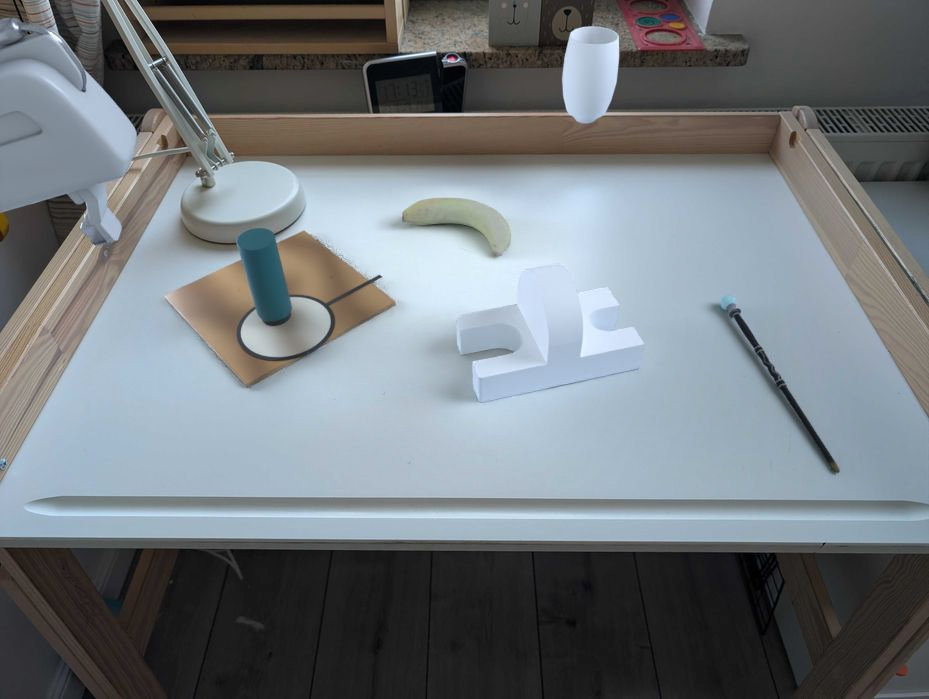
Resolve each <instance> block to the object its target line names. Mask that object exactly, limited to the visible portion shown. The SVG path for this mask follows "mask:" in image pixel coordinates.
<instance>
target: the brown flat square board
mask: <svg viewBox="0 0 929 699" xmlns="http://www.w3.org/2000/svg"><path fill="white" fill-rule="evenodd" d="M276 243H277V247H278V251H279V255H280V259H281V263H282V267H283V272H284V276H285V280H286V284H287V288H288V292H289V296H290V300H291V304H292V310H291V317H290V319H289V320H288V321H287V322H286V323H284V324H282V325H278V326H269V325H266V324H265V323H263V321H262V319H261V318H259V316H258V315H257V311H256V308H255V305H254V301H253V298H252V294H251V291H250V287H249V284H248V281H247V277H246V274H245V270H244V267H243V264H242V260H241V259H239V260H237V261H235V262H233V263H231V264H229V265H226V266H224V267H222V268H219V269H218V270H216V271H214V272H212V273H209V274H207V275H205V276H203V277H200V278H199V279H196V280H194V281H192V282H190V283H188V284H186V285H184V286H181V287H179V288H177V289H175V290H173V291H170V292H168V293H166V294H164V295H163V296H164V297H163V298H164V299H165V300H166V302H167V303H168V304H169V305H170V306H171V307H172V308H173V309H174V311H176V312H177V313H178V314H179V315H180V316H181V318H182V319H183V320H184V321H185V322H186V323H187V324H188V325H189V326H190V328H191V329H192V330H193V331H194V332H195V333H196V334H197V335H198V336H199V337H200V338H201V340H202V341H203V342H204V343H205V344H206V345H207V347H209V348H210V349H211V350H212V351H213V352H214V354H215V355H216V356H217V357H218V358H219V359H220V360H221V362H222V363H224V364H225V366H227V368H228V369H229V370H230V371H231V372H232V373H233V375H235V377H236V378H237V379H238V380H239V381H240V382H241V383H242V384H243V385H244V386H245V387H246V388H247V389H249V388H251V387H252V386H254V385H255V384H257V383H259V382H261V381H263V380H264V379H267V378H268V377H270V376H272V375H274V374H275V373H277V372H278V371H280V370H282V369H284V368H286V367H288V366H289V365H291V364H293V363H295V362H297V361H298V360H300V359H302V358H304V357H305V356H307V355H309V354H311V353H313V352H315V351H316V350H318V349H319V348H322V347H323V346H325V345H327V344H328V343H330V342H332V341H334V340H336V339H337V338H339V337H341V336H343V335H344V334H346V333H348V332H350V331H352V330H353V329H356V327H359V326H361V325H363V324H364V323H366V322H367V321H369V320H372V319H374V318H375V317H376V316H378V315H380V314H382V313H384V312H386V311H388V310H389V309H392V308H393V307H394V306H396V300H395V299H393V298H392V297H391V296H389V295H388V294H386V292H384V291H383V290H382V289H381V288H379V287H378V286H376V284H374V282H376V281H377V280H380V279H381V278H383V275H380V274H378V275H376V276H374V277H372V278H371V279H367V278H366V277H365V276H364V275H363V274H361V273H359V272H358V271H357V270H356V269H355V268H353V267H352V266H351V265H349V263H347V262H346V261H345V260H343V259H342V258H341V257H340V256H338V255H337V254H336V253H334V252H333V251H332V250H330V249H329V248H327V247H326V246H325V245H324V244H322V243H321V242H320V241H319V240H317V239H316V238H315V237H314V236H312V235H311V234H310V233H308V232H307V231H306V230H302V231H299V232H297V233H295V234H294V235H290V236H288V237H287V238H284V239H282V240H280V241H278V242H276Z"/></svg>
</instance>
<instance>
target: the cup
mask: <svg viewBox="0 0 929 699" xmlns="http://www.w3.org/2000/svg"><path fill="white" fill-rule="evenodd" d="M563 60H564V61H563V66H562V75H561V84H562V97H563V101H564V106H565V111H566V112H567V114H568V115H569V116H571V117H572V118H574V120H575V121H576V122H578V123H580V124H592V123H594V122H595V121H596V120H597V119H600V118H602V117H603V116H604V115H606V113H607V110H608V109H609V106H610V104H611V102H612V99H613V96H614V93H615V90H616V86H617V83H618V82H617V81H618V73H619V63H620V36H619V34H618V33H617V32H616V31H615V30H613V29H611V28H607V27H603V26H594V25H593V26H582V27H578V28H574V30H572V31H570V33H569V37H568V41H567V46H566V50H565V54H564V59H563Z"/></svg>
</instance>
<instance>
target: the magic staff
mask: <svg viewBox="0 0 929 699" xmlns="http://www.w3.org/2000/svg"><path fill="white" fill-rule="evenodd" d="M719 304H720V308H721V309H722V310H724V311H726V312H728V317H729V318H730V319H734V320H735V322H736V325H738V327H739V329H740V331H741V332H742V334H743V336H745V338H746V339H747V341H748V342H749V344H750V345H751V346H752V348H753V351H754V352H755V354H756V356H758V357H759V358H760V360H761V362H762V364H763V366H765V368H767V371H768V373H769V375H770V376H771V377H772V379H773V380H774V383H775V385H776V387H777V388H778V389H779V390H780V391H781V392H782V394H783V395H784V397H785V399H786V400H787V402H788V403H789V405H790V406H791V408H792V409H793V411H794V412H795V414H796V415H797V417H798V418H799V420H800V421H801V423H802V424H803V426H804V427H805V429H806V431H807V432H808V434H809V435H810V436H811V438H812V440H813V441H814V443H815V444H816V445H817V447H818V449H819V450H820V452H821V453H822V455H823V456H824V459H826V461H827V463H828V464H829V465H830V467H831V469H832V470H833V471H834V472H835V473H837V474H838V473H840V467H839V466H838V464H837V463H836V460H834V458H833V456H832V455H831V453H830V451H829V450H828V449H827V447H826V445H825V444H824V442H823V441H822V439H821V438H820V436H819V435H818V433H817V431H816V430H815V428H814V427H813V425H812V423H811V422H810V420H809V419H808V417H807V416H806V415H805V413H804V412H803V409H802V408H801V407H800V405H799V404H798V402H797V401H796V399H795V397H794V396H793V394H792V392H791V391H790V389H789V388H788V385H787V383H786V381H785V380H784V379H783V378H782V375H781V374H780V373H779V372H778V371H777V370H776V369H775V368H776V367H775V365H774V364H773V363H772V362H771V361H770V359H769V357H768V356H767V354H766V351H765V350H764V348H763V346H761V345H760V344H759V342H758V340H757V339H756V337H755V335H754V333H753V332H752V330H751V329H750V327H749V326H748V324H747V323H746V321H745V320H744V319H743V317H742V316H741V313H742V309H741V308H739V307H737V299H736V298H735V297H733V296H732V295H729V294H728V295H724V296H723V297H721V299H720V302H719Z"/></svg>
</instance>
